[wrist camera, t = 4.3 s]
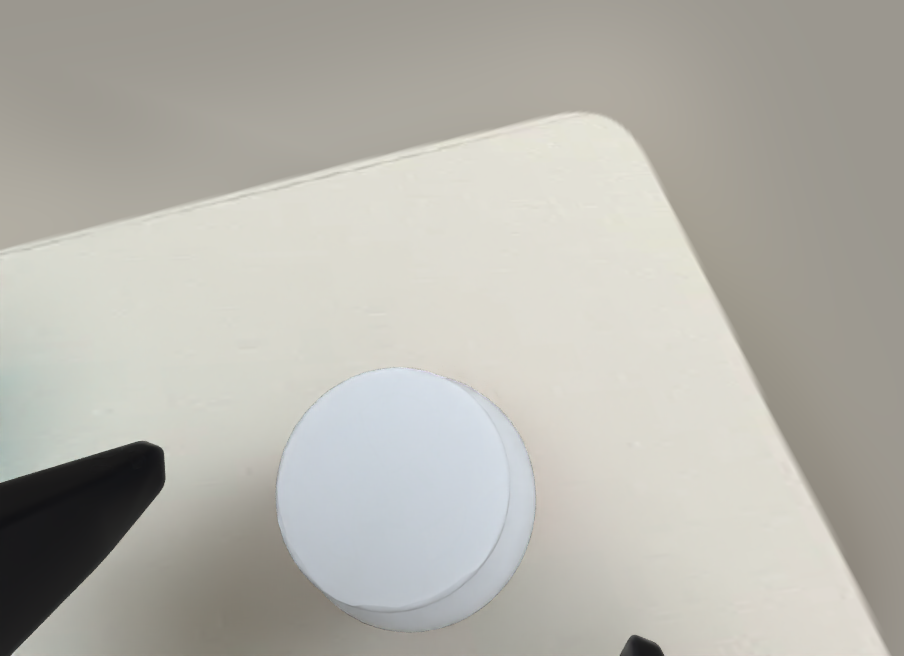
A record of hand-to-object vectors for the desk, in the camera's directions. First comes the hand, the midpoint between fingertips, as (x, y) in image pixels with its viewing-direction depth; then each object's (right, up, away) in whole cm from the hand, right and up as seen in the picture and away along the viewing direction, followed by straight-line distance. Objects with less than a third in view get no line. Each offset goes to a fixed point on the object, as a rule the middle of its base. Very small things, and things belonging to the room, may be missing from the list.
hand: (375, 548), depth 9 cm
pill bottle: (+1, -2, +9) cm, 9 cm away
